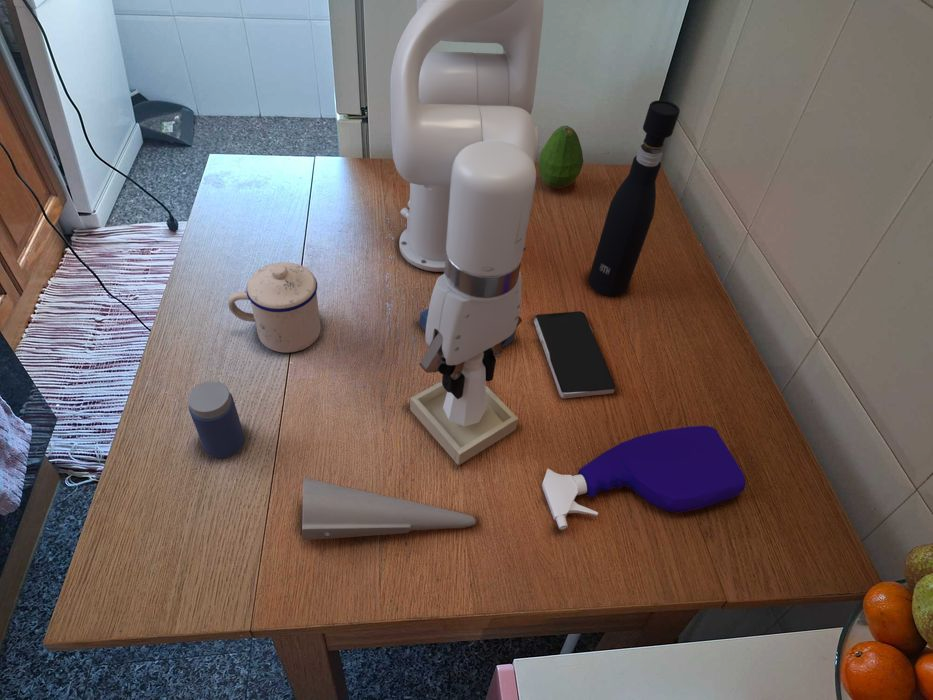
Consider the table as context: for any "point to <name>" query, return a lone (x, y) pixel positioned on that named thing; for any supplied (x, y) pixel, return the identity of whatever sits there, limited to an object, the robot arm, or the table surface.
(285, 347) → the teacup with lid
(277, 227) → the table surface
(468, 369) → the salt shaker
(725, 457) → the spray bottle
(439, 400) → the cream tray
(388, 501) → the grey tapered cone
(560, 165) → the avocado
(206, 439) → the pepper shaker
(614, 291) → the black bottle
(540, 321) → the smartphone
